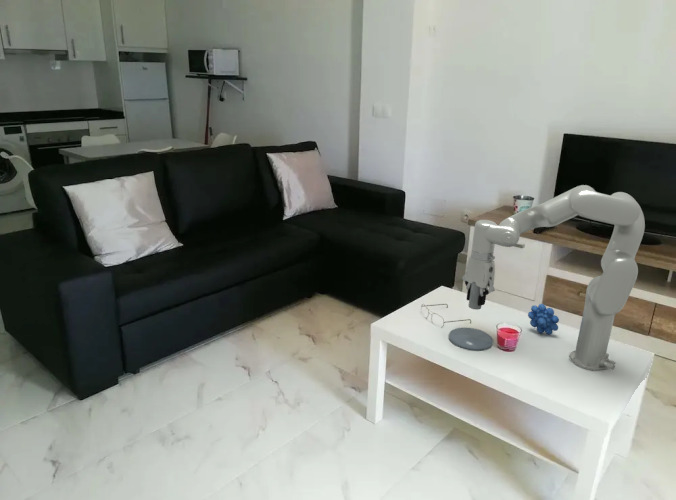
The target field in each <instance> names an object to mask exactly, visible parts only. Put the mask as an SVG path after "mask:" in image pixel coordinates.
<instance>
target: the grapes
mask: <svg viewBox="0 0 676 500" xmlns="http://www.w3.org/2000/svg"><path fill="white" fill-rule="evenodd" d="M530 310H531V311H528V313H527V316H528V318H529V319H530V321H529V325H530V326H532V328H536V331H537V332H538V334H544V333H545V334H546V335H548V336H550V335H552V334H553V332H554V331H558V330H559V325H558V323H559V321H560V319H559V316H557V315H556V314H555V310H554V309H553V308H552V307H547V306H546V304H543V303H539V304H538V306H537V305H532V306H531V307H530Z"/></svg>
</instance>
